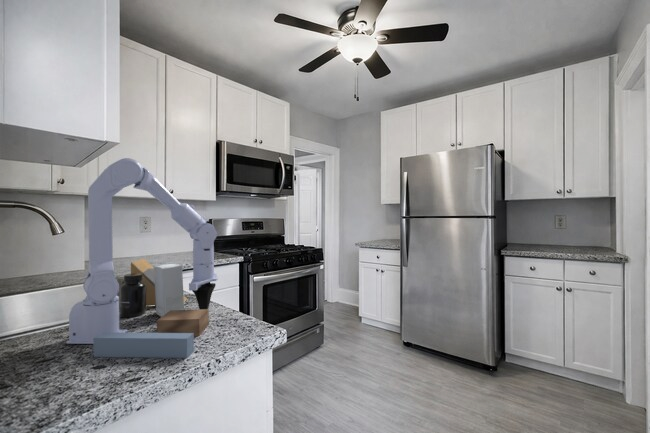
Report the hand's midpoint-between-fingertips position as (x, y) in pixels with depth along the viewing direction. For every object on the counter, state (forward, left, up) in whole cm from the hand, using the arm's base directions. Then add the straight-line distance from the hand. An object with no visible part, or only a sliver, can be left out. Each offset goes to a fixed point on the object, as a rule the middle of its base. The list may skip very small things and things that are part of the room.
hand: (203, 309), depth 92 cm
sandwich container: (-20, +13, -2) cm, 24 cm away
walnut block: (0, -12, -2) cm, 12 cm away
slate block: (-2, -25, -2) cm, 26 cm away
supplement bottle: (-22, +1, -2) cm, 22 cm away
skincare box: (-11, +1, -2) cm, 11 cm away
